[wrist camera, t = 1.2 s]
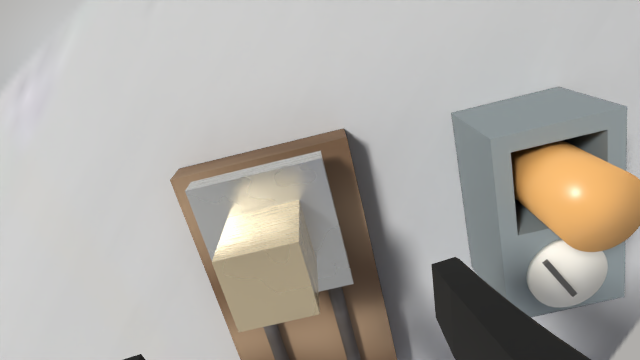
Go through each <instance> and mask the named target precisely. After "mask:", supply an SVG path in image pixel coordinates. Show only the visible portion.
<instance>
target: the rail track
mask: <svg viewBox="0 0 640 360" xmlns="http://www.w3.org/2000/svg"><path fill="white" fill-rule="evenodd" d="M317 151H321V153H322V157H323V161H324V165H325V169H326V173H327V177H328V181H329V185H330V189H331V193H332V197H333V201H334V205H335V209H336V213H337V217H338V221H339V225H340V229H341V233H342V237H343V241H344V245H345V249H346V253H347V257H348V261H349V265H350V269H351V273H352V278H353V283H354V284H351V285H346V286H342V287H338V288H333V289H329V290H324V291H320V292H319V306H320V314H319V315H314V316H310V317H305V318H301V319H296V320H292V321H288V322H283V323H279V324H274V325H270V326H265V327H261V328H256V329H252V330H247V331H243V332H238V330H237V327H236V324H235V322H234V319H233V317H232V314H231V311H230V309H229V306H228V304H227V301H226V298H225V296H224V293H223V291H222V288H221V285H220V283H219V280H218V278H217V275H216V272H215V270H214V267H213V265H212V260H211V258H210V255H209V253H208V250H207V247H206V245H205V242H204V240H203V237H202V234H201V232H200V229H199V227H198V224H197V221H196V219H195V216H194V214H193V211H192V208H191V206H190V203H189V200H188V198H187V195H186V193H185V190H186V189H187V187H188V186H189V184H190V183H191V182H193V181H197V180H201V179H205V178H209V177H214V176H218V175H222V174H226V173H230V172H234V171H238V170H242V169H247V168H251V167H255V166H259V165H263V164H267V163H271V162H275V161H279V160H284V159H288V158H292V157H296V156H300V155H304V154H308V153H312V152H317ZM170 181H171V184H172V186H173V189H174V191H175V194H176V196H177V199H178V201H179V204H180V207H181V209H182V212H183V214H184V217H185V219H186V222H187V224H188V227H189V229H190V232H191V235H192V237H193V240H194V242H195V245H196V247H197V250H198V252H199V255H200V257H201V260H202V263H203V265H204V268H205V270H206V273H207V275H208V278H209V280H210V283H211V285H212V288H213V290H214V293H215V296H216V298H217V301H218V303H219V306H220V308H221V311H222V313H223V316H224V318H225V321H226V324H227V326H228V329H229V331H230V334H231V336H232V339H233V341H234V344H235V346H236V349H237V352H238V354H239V357H240V359H241V360H397V357H396V352H395V348H394V343H393V339H392V334H391V330H390V326H389V321H388V317H387V312H386V308H385V304H384V299H383V295H382V290H381V286H380V281H379V277H378V273H377V268H376V264H375V259H374V255H373V251H372V246H371V242H370V237H369V233H368V229H367V224H366V220H365V215H364V211H363V206H362V202H361V198H360V193H359V189H358V184H357V180H356V176H355V171H354V167H353V162H352V158H351V153H350V149H349V145H348V140H347V136H346V133H345V131H344V129H340V130H336V131H332V132H327V133H323V134H319V135H315V136H311V137H307V138H303V139H299V140H295V141H291V142H287V143H282V144H278V145H274V146H270V147H266V148H262V149H258V150H254V151H250V152H246V153H242V154H238V155H233V156H229V157H225V158H221V159H217V160H213V161H209V162H205V163H201V164H197V165H193V166H188V167H184V168H180V169H178V171H177V172H176V173H175V175H174V176H173V177H172V178H171V180H170Z"/></svg>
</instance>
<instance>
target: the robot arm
mask: <svg viewBox="0 0 640 360" xmlns="http://www.w3.org/2000/svg"><path fill="white" fill-rule="evenodd" d="M432 275H433V287H434V299H435V311H436V318H437V321H438V323H439V325H440V327H441V330H442V332H443V334H444V336H445V338H446V341H447V343H448V345H449V347H450V349H451V351H452V353H453V356H454V357H455V359H456V360H591V359H589V358H588V357H586V356H585V355H583V354H582V353H580V352H579V351H577V350H576V349H574V348H573V347H571V346H570V345H568V344H567V343H565V342H564V341H563V340H561V339H560V338H558V337H557V336H555V335H554V334H552V333H551V332H550V331H548V330H547V329H546V328H544V327H543V326H541V325H540V324H539V323H537V322H536V321H535V320H533V319H532V318H531V317H529V316H528V315H527V314H525V313H524V312H523V311H521V310H520V309H519V308H517V307H516V306H515V305H514V304H512V303H511V302H510V301H508V300H507V299H506V298H505V297H503V296H502V295H501V294H500V293H498V292H497V291H496V290H495V289H494V288H492V287H491V286H490V285H489V284H487V283H486V282H485V281H484V280H483V279H482V278H480V277H479V276H478V275H477V274H476V273H475V272H473V271H472V270H471V269H470V268H469V267H468V266H467V265H465V264H464V263H463V262H462V261H461V260H460V259H458V258H456V257H454V258H451V259H447V260H444V261H441V262H438V263H434V264H432ZM124 360H145V359H144V357H143V356H142V355H141V354H140V355H137V356H133V357H130V358H127V359H124Z"/></svg>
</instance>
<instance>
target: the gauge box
mask: <svg viewBox="0 0 640 360" xmlns="http://www.w3.org/2000/svg"><path fill="white" fill-rule="evenodd" d="M451 115H452V122H453V130H454V137H455V145H456V152H457V160H458V167H459V174H460V182H461V189H462V197H463V204H464V212H465V219H466V227H467V234H468V242H469V249H470V257H471V264H472V267H473V269H474V270H475V272H476V273H477V275H478V276H479V277H480V278H482V279H483V280H484V281H485V282H486V283H487V284H489V285H490V286H491V287H492V288H494V289H495V290H496V291H497V292H498V293H500V294H501V295H502V296H503V297H505V298H506V299H507V300H508V301H510V302H511V303H512V304H514V305H515V306H516V307H517V308H519V309H520V310H521V311H523V312H524V313H525V314H527V315H528V316H529V317H535V316H539V315H544V314H548V313H553V312H558V311H562V310H567V309H571V308H576V307H580V306H585V305H590V304H594V303H599V302H603V301H608V300H612V299H617V298H622V297H624V283H625V241H624V242H622V243H621V244H619V245H617V246H615V247H613V248H610V249H607V250H604V251H599V252H584V251H580V250H577V249H574V248H572V247H571V246H569V245H568V244H567V243H566V242H564V241H563V240H562V239H561V238H560V237H559V236H558V235H556V234H555V233H554V232H553V231H552V230H551V229H550V228H548V227H547V226H546V225H545V224H544V223H543V222H542V221H540V220H539V219H538V218H537V217H536V216H535V215H534V214H532V213H531V212H530V211H529V210H528V209H527V208H526V207H524V206H523V205H522V204H521V203H520V202H519V201H518V200H516V199H515V197H514V186H513V174H512V162H511V152H515V151H519V150H523V149H527V148H532V147H536V146H540V145H544V144H548V143H553V142H557V141H561V140H564V141H566V142H568V143H570V144H572V145H574V146H576V147H578V148H580V149H582V150H584V151H586V152H588V153H590V154H592V155H594V156H596V157H598V158H600V159H602V160H604V161H606V162H608V163H610V164H612V165H614V166H616V167H619V168H621V169H623V170H625V171H626V145H627V106H624V105H620V104H617V103H613V102H610V101H606V100H603V99H599V98H596V97H593V96H589V95H586V94H582V93H579V92H575V91H572V90H569V89H565V88H562V87H556V88H552V89H548V90H544V91H540V92H535V93H531V94H527V95H523V96H519V97H515V98H511V99H507V100H503V101H498V102H494V103H490V104H486V105H482V106H478V107H474V108H470V109H466V110H462V111H457V112H453V113H451Z"/></svg>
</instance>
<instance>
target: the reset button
mask: <svg viewBox="0 0 640 360" xmlns="http://www.w3.org/2000/svg"><path fill="white" fill-rule="evenodd" d="M511 162H512V174H513V186H514V197H515V199H516V200H518V201H519V202H520V203H521V204H522V205H523V206H524V207H526V208H527V209H528V210H529V211H530V212H531V213H532V214H534V215H535V216H536V217H537V218H538V219H539V220H540V221H542V222H543V223H544V224H545V225H546V226H547V227H548V228H550V229H551V230H552V231H553V232H554V233H555V234H556V235H558V236H559V237H560V238H561V239H562V240H563V241H564V242H566V243H567V244H568V245H569V246H571V247H572V248H574V249H577V250H580V251H584V252H599V251H604V250H607V249H610V248H613V247H615V246H617V245H619V244H621V243H622V242H624V241H625V240H626V239H628V238H629V237H630V236H631V235H632V234H633V233H634V232H635V231H636V230H637V229H638V227H639V226H640V180H639V179H638V178H637V177H636V176H634V175H632V174H631V173H629V172H627V171H625V170H623V169H621V168H619V167H616V166H614V165H612V164H610V163H608V162H606V161H604V160H602V159H600V158H598V157H596V156H594V155H592V154H590V153H588V152H586V151H584V150H582V149H580V148H578V147H576V146H574V145H572V144H570V143H568V142H566V141H564V140H561V141H557V142H553V143H548V144H544V145H540V146H536V147H532V148H527V149H523V150H519V151H515V152H511Z"/></svg>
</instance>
